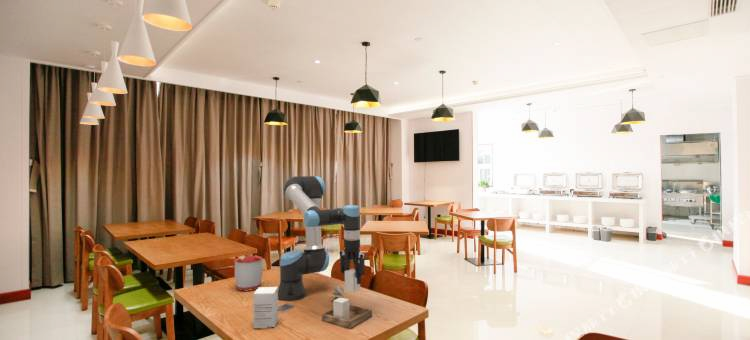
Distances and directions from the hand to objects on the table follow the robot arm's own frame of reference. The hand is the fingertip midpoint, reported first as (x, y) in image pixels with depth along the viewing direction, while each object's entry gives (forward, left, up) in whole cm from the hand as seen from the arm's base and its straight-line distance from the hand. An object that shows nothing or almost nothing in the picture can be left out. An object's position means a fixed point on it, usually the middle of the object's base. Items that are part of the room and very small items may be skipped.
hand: (352, 289), depth 161 cm
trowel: (-33, -15, -12) cm, 38 cm away
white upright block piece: (0, 0, 0) cm, 0 cm away
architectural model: (-18, +11, -13) cm, 25 cm away
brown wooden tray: (0, -4, -12) cm, 13 cm away
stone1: (0, -8, -11) cm, 14 cm away
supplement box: (-26, -28, -12) cm, 40 cm away
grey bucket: (-76, -1, -12) cm, 77 cm away
